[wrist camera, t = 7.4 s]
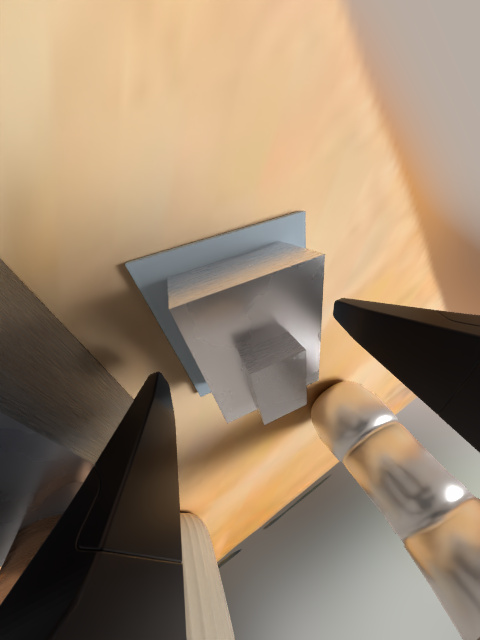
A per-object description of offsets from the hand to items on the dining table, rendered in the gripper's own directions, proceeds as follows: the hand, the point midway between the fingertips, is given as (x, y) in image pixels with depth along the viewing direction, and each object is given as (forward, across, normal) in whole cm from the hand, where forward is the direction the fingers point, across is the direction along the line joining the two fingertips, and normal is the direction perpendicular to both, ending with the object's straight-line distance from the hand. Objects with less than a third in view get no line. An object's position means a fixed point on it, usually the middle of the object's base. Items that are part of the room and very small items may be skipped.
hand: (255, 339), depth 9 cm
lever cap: (+2, 0, 0) cm, 2 cm away
